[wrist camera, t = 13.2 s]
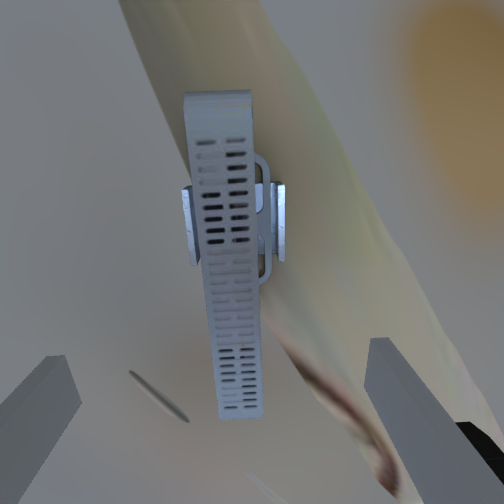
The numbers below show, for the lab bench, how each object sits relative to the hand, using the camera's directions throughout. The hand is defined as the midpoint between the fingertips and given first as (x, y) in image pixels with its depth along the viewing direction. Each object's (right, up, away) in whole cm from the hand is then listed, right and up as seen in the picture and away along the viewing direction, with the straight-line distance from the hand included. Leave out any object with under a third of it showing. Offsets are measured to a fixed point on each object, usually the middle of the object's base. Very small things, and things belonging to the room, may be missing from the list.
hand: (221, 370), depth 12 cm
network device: (0, +9, +26) cm, 27 cm away
